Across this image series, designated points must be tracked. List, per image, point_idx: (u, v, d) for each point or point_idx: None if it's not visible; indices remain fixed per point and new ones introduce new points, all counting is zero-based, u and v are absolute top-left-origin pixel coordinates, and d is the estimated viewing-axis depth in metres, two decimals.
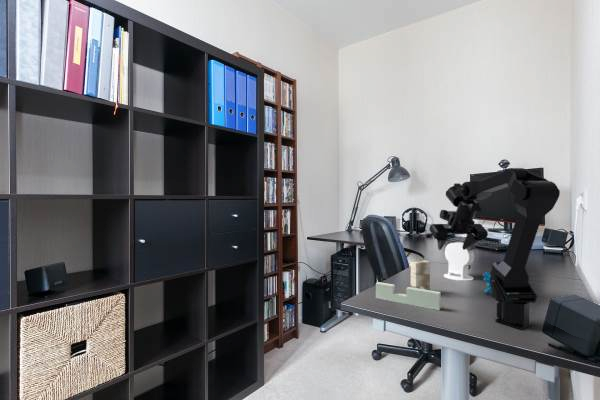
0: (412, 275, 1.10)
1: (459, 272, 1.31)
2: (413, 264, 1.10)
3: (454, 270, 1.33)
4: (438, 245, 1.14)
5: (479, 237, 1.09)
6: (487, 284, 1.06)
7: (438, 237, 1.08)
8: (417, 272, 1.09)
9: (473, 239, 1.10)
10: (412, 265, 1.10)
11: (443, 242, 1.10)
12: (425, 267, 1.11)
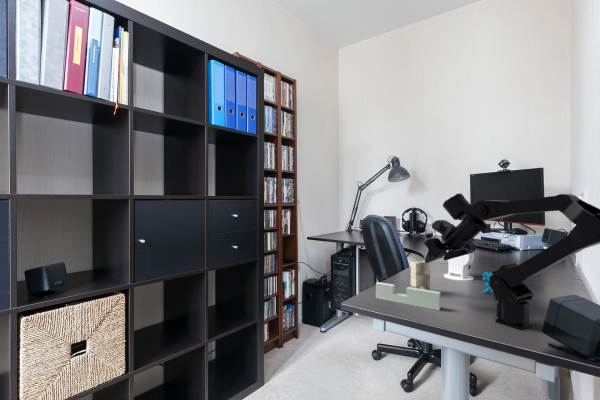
0: (412, 275, 1.10)
1: (459, 272, 1.31)
2: (413, 264, 1.10)
3: (454, 270, 1.33)
4: (427, 258, 1.03)
5: (468, 252, 1.02)
6: (486, 284, 1.07)
7: (438, 256, 0.95)
8: (417, 272, 1.09)
9: (461, 253, 1.03)
10: (412, 265, 1.10)
11: (438, 258, 0.99)
12: (425, 267, 1.11)
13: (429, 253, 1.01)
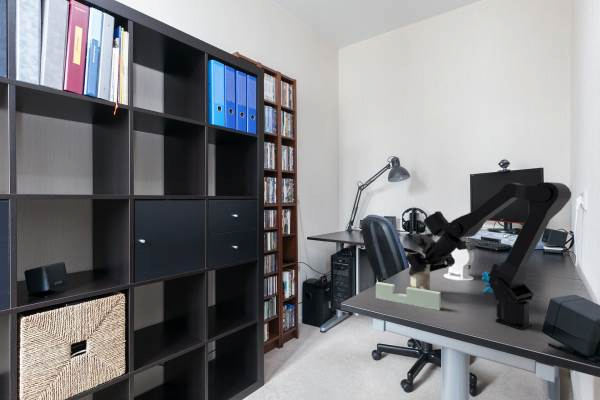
0: (412, 275, 1.10)
1: (459, 272, 1.31)
2: None
3: (454, 270, 1.33)
4: (411, 271, 1.10)
5: (448, 265, 1.09)
6: (485, 284, 1.07)
7: (418, 270, 1.02)
8: None
9: (439, 267, 1.09)
10: None
11: (420, 272, 1.06)
12: None
13: None
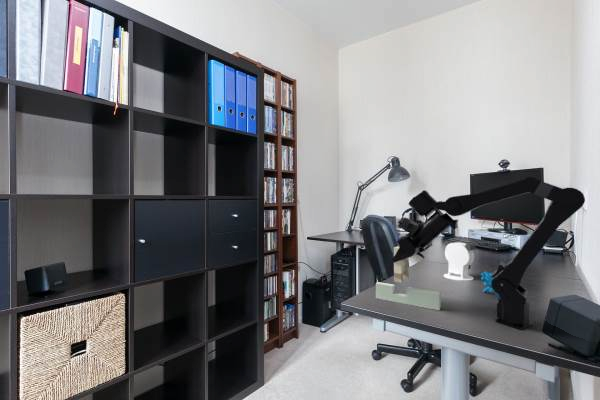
0: None
1: (459, 272, 1.31)
2: (397, 249, 1.00)
3: (454, 270, 1.33)
4: (396, 257, 0.99)
5: (427, 248, 1.04)
6: (484, 283, 1.07)
7: (413, 254, 0.92)
8: None
9: (420, 250, 1.03)
10: (396, 250, 1.00)
11: None
12: None
13: (399, 252, 0.98)
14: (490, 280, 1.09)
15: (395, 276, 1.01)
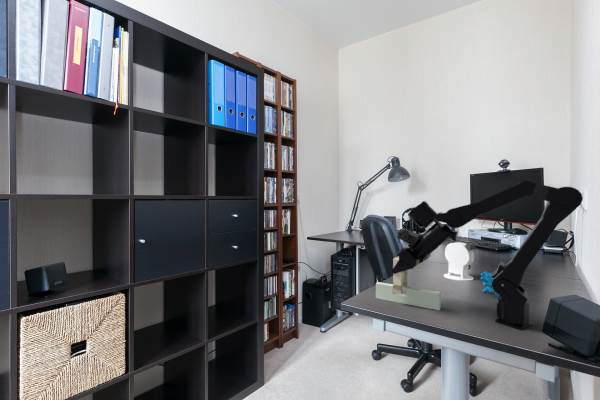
0: None
1: (459, 272, 1.31)
2: (397, 261, 0.99)
3: (454, 270, 1.33)
4: (395, 269, 0.98)
5: None
6: (483, 283, 1.07)
7: None
8: None
9: (419, 261, 1.02)
10: (395, 262, 0.99)
11: None
12: None
13: (399, 263, 0.97)
14: (490, 280, 1.09)
15: (394, 288, 0.99)
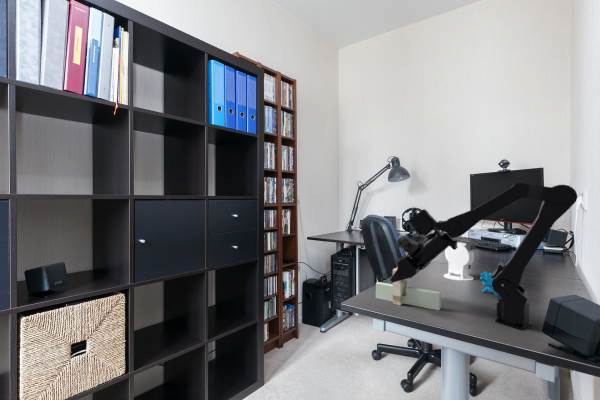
0: (395, 284, 0.99)
1: (459, 272, 1.31)
2: None
3: (454, 270, 1.33)
4: (394, 278, 0.98)
5: (426, 266, 1.03)
6: (483, 283, 1.08)
7: (413, 275, 0.91)
8: (401, 280, 0.99)
9: (419, 268, 1.03)
10: None
11: (408, 277, 0.95)
12: None
13: (398, 272, 0.96)
14: (489, 280, 1.09)
15: (394, 299, 0.99)
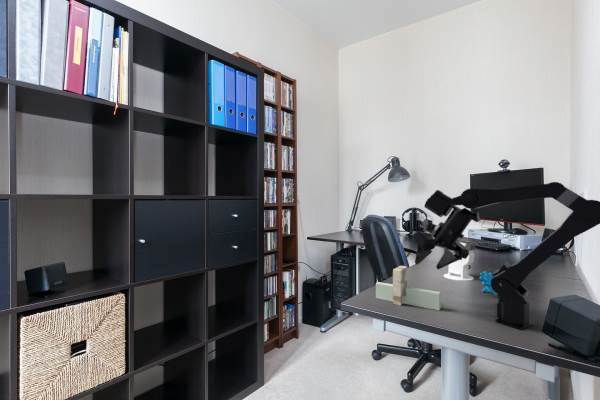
0: (395, 284, 0.99)
1: (459, 272, 1.31)
2: (397, 272, 0.99)
3: (454, 270, 1.33)
4: (417, 258, 0.97)
5: (461, 255, 0.97)
6: (482, 283, 1.08)
7: (426, 246, 0.91)
8: (401, 280, 0.99)
9: (454, 257, 0.97)
10: (395, 273, 0.99)
11: (427, 254, 0.93)
12: (405, 273, 1.02)
13: (419, 251, 0.96)
14: (489, 280, 1.10)
15: (394, 299, 0.99)
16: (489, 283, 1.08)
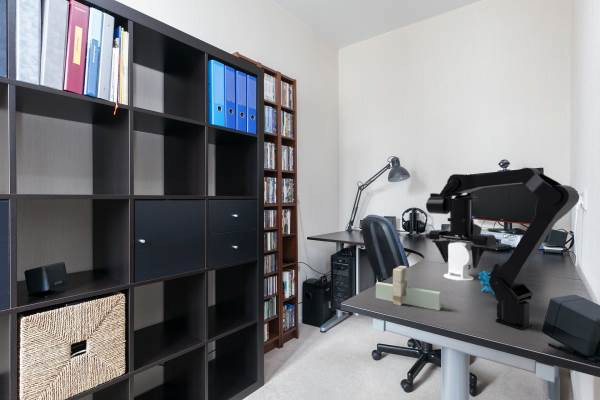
0: (395, 284, 0.99)
1: (459, 272, 1.31)
2: (397, 272, 0.99)
3: (454, 270, 1.33)
4: None
5: (474, 242, 0.90)
6: (481, 282, 1.08)
7: (430, 236, 1.03)
8: (401, 280, 0.99)
9: None
10: (395, 273, 0.99)
11: (438, 245, 1.00)
12: (405, 273, 1.02)
13: None
14: (488, 279, 1.10)
15: (394, 299, 0.99)
16: (488, 283, 1.09)
